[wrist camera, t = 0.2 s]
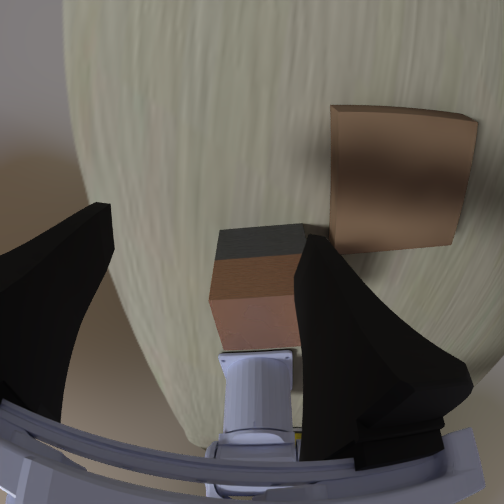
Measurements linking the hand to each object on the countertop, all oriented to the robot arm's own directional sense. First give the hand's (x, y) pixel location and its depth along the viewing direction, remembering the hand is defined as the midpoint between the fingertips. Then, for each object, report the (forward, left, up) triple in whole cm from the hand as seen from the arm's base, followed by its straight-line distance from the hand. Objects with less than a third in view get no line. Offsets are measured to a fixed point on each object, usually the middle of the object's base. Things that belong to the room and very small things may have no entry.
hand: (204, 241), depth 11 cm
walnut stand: (-3, -12, -10) cm, 15 cm away
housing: (-9, -2, -10) cm, 13 cm away
